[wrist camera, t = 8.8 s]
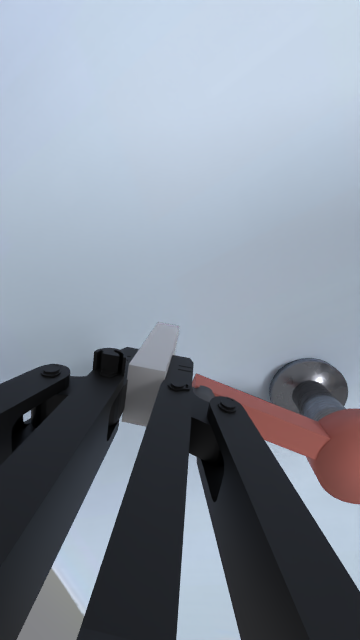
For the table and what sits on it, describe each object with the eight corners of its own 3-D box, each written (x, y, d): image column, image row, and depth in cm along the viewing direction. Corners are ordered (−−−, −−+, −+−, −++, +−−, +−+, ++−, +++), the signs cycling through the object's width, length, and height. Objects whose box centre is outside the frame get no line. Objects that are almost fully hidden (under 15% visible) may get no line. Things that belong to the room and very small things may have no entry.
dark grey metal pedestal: (280, 352, 23) (313, 391, 16) (353, 365, 23) (418, 411, 16) (261, 413, 25) (284, 471, 18) (329, 427, 24) (378, 491, 18)
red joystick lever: (172, 415, 17) (164, 459, 14) (203, 344, 16) (204, 371, 12) (364, 490, 18) (408, 554, 14) (414, 428, 16) (480, 480, 12)
